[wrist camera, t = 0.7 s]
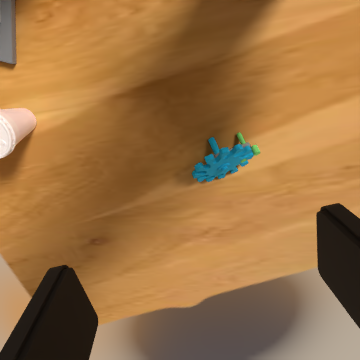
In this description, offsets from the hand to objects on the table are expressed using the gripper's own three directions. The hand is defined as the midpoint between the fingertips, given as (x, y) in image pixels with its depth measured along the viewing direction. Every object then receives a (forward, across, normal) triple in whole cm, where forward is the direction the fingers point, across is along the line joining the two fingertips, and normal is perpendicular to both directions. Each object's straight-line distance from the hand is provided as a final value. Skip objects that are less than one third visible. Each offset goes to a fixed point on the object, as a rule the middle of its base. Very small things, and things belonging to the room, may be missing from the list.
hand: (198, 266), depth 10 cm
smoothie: (+35, +23, -5) cm, 42 cm away
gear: (+34, -6, +8) cm, 36 cm away
